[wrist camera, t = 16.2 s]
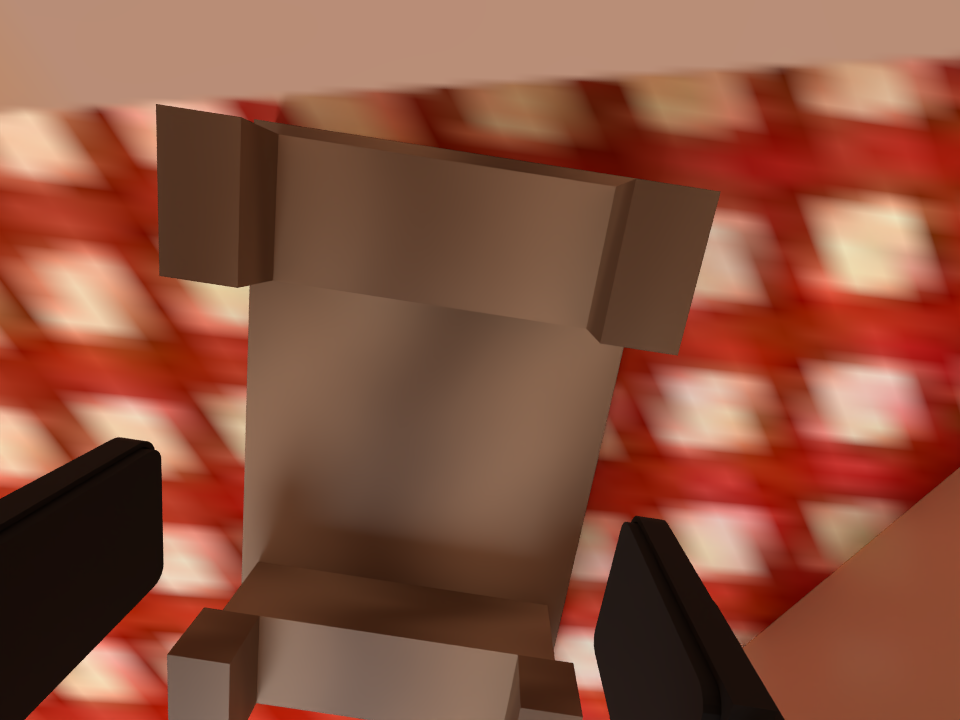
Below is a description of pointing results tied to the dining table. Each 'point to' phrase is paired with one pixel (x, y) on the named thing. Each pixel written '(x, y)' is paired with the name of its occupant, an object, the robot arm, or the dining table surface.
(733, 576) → the dining table surface
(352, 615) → the rack
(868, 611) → the clay strip
